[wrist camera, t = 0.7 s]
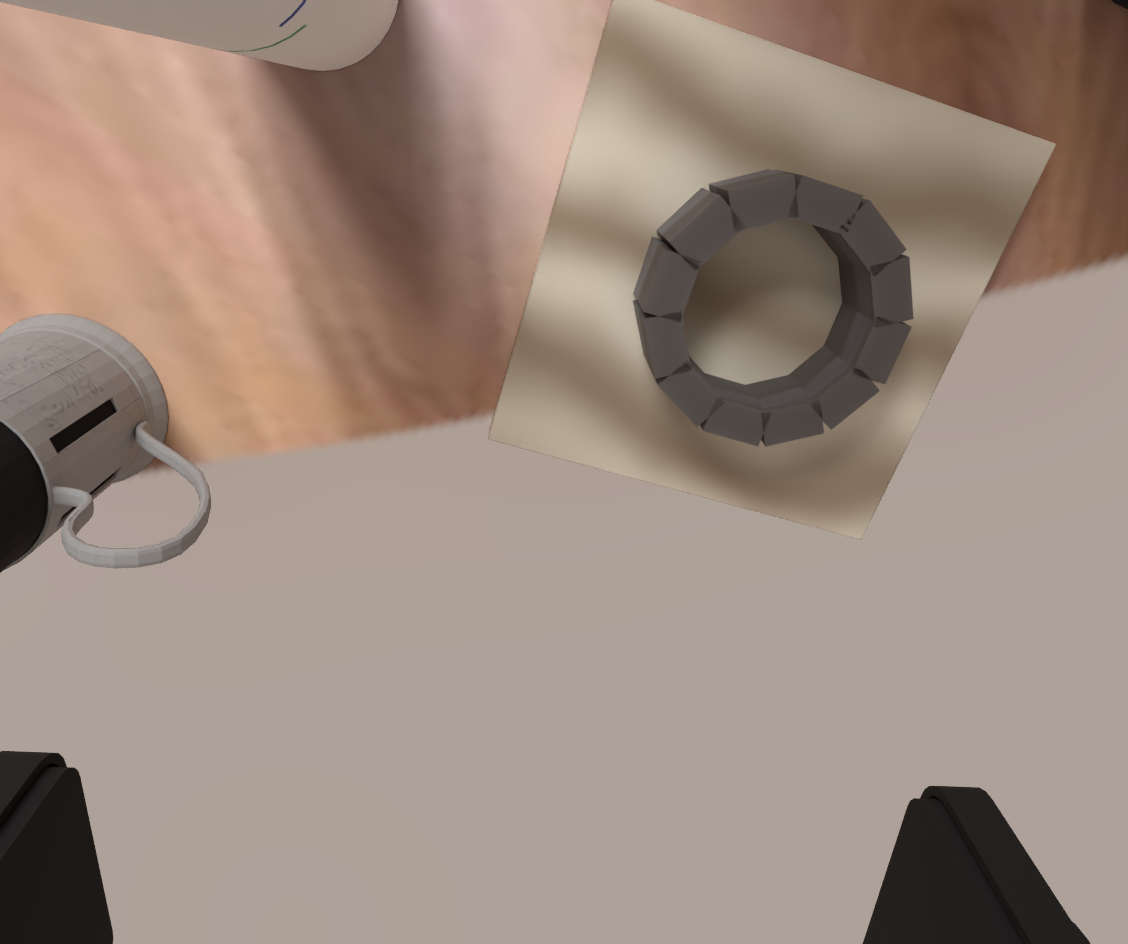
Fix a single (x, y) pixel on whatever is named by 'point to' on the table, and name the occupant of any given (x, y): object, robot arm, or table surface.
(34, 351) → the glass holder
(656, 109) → the bottle stand
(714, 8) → the table surface
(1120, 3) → the wine bottle
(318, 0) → the cylindrical container
